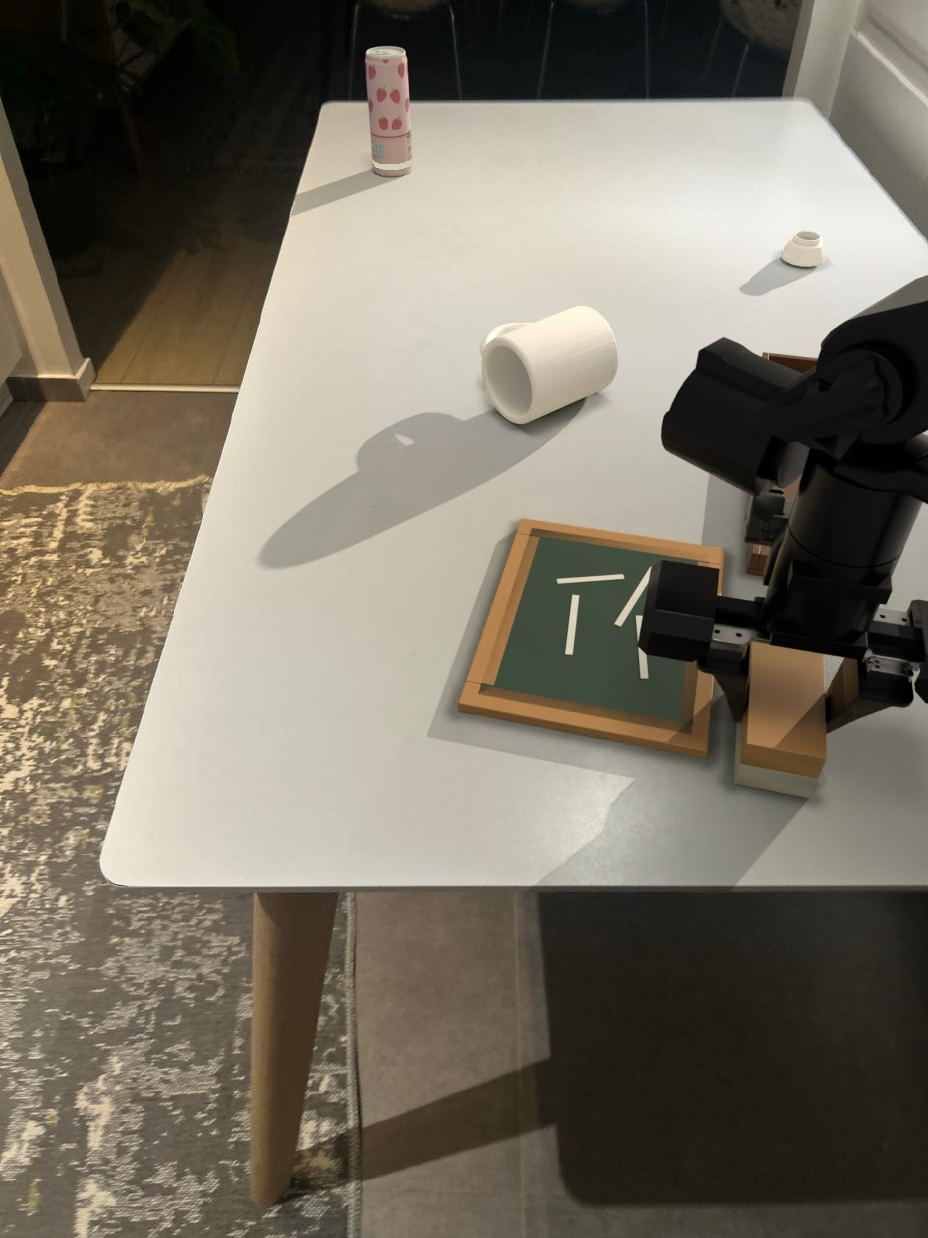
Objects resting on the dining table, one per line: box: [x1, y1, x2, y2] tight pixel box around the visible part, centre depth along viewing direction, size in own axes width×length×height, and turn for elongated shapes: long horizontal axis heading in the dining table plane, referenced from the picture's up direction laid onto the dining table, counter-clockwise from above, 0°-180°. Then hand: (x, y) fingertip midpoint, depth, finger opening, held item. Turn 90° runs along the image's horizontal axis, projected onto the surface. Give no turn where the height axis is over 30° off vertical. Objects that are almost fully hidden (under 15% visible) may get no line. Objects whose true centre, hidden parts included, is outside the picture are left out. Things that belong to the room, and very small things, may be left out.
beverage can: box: [364, 45, 414, 178], centre depth 127 cm, size 6×6×15 cm
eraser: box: [732, 642, 828, 799], centre depth 57 cm, size 9×4×4 cm, turn 166°
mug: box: [479, 305, 619, 425], centre depth 86 cm, size 12×10×8 cm
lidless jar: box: [780, 230, 826, 268], centre depth 108 cm, size 5×3×5 cm
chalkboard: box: [457, 517, 726, 759], centre depth 66 cm, size 16×20×1 cm
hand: (776, 724), depth 58 cm, fingers closed on eraser, 4 cm apart
